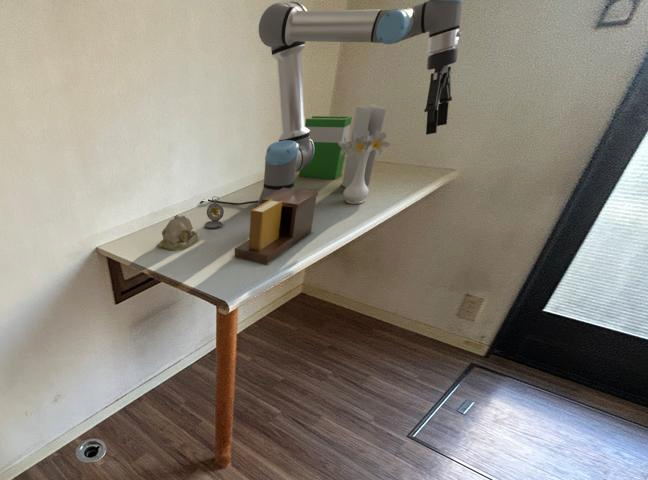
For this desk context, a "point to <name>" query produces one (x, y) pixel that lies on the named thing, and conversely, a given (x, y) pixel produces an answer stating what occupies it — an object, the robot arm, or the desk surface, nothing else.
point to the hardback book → (326, 146)
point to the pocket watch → (214, 210)
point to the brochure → (363, 122)
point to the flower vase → (361, 162)
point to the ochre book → (264, 224)
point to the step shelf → (285, 224)
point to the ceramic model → (178, 234)
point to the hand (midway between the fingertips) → (436, 129)
